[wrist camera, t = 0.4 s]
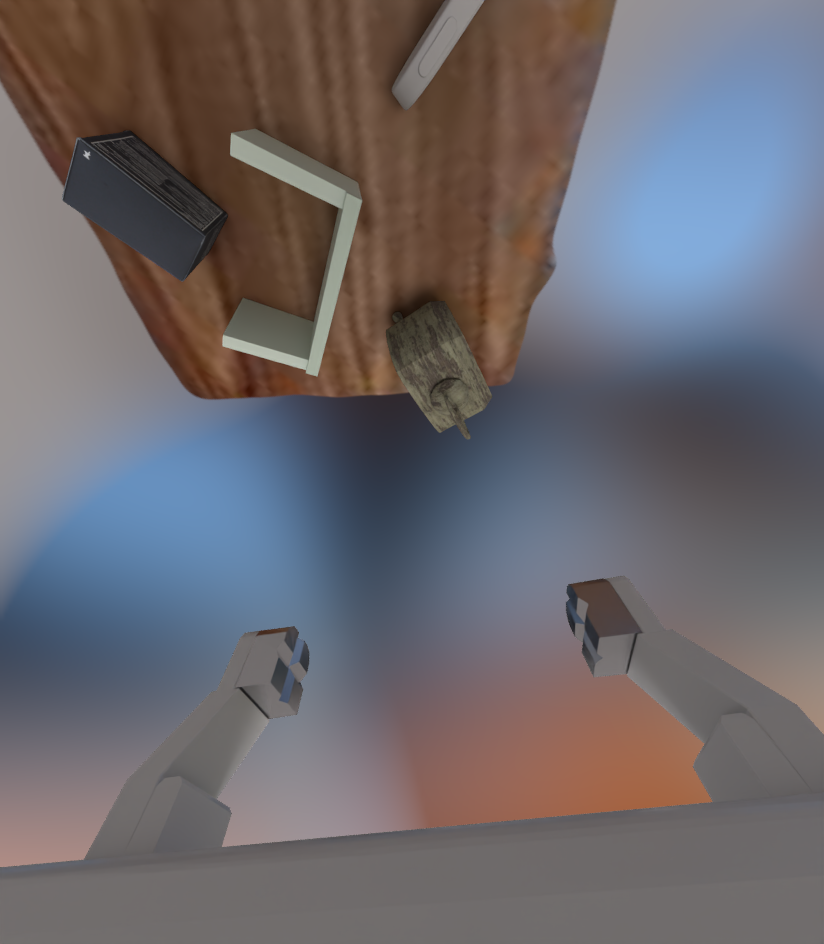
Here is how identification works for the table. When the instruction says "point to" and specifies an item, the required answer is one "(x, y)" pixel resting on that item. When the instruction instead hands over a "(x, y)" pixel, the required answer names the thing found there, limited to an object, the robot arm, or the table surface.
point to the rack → (300, 337)
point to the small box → (142, 201)
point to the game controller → (433, 49)
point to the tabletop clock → (437, 366)
